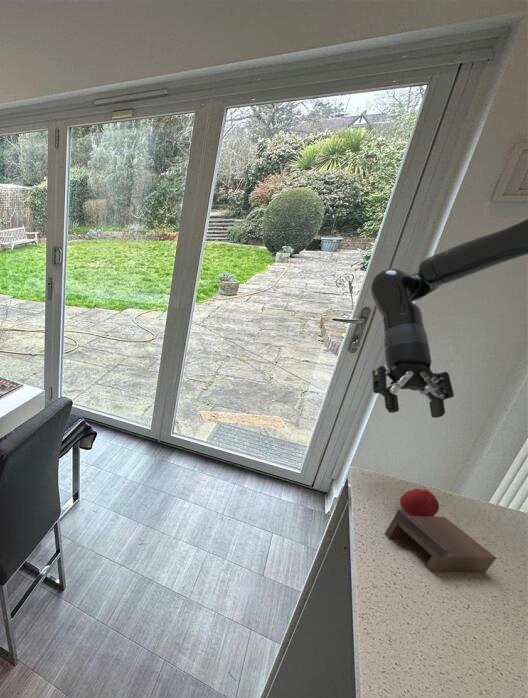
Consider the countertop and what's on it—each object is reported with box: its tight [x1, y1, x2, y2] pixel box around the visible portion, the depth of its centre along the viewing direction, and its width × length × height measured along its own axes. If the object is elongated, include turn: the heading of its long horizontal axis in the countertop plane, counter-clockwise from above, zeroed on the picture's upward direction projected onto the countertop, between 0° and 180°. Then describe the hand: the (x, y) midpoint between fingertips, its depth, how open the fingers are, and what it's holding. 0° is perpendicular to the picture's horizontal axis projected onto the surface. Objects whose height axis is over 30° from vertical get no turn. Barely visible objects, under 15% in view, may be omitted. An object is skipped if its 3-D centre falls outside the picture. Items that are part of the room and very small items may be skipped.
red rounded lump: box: [399, 486, 440, 517], centre depth 86 cm, size 6×6×8 cm
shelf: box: [384, 509, 497, 574], centre depth 78 cm, size 10×10×7 cm
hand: (415, 414), depth 90 cm, fingers open, 8 cm apart
